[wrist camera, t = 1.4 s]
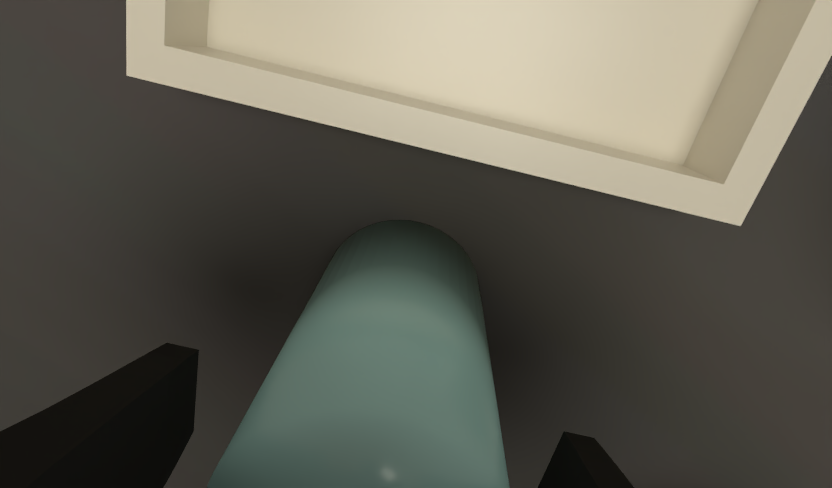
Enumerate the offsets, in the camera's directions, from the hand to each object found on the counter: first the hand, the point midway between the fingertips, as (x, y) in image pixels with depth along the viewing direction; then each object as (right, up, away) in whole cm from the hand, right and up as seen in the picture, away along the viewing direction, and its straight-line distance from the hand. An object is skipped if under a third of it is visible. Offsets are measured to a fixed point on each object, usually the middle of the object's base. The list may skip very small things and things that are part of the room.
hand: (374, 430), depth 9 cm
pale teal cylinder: (0, +2, +5) cm, 6 cm away
